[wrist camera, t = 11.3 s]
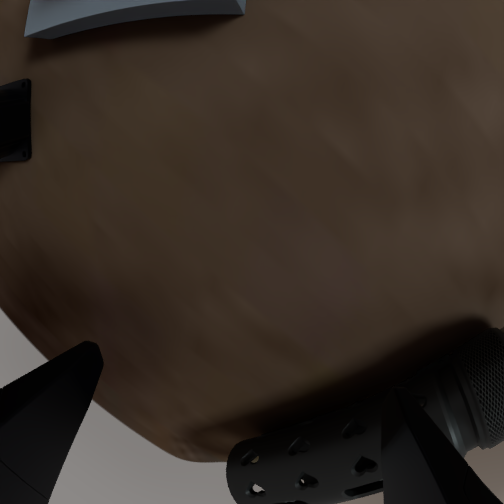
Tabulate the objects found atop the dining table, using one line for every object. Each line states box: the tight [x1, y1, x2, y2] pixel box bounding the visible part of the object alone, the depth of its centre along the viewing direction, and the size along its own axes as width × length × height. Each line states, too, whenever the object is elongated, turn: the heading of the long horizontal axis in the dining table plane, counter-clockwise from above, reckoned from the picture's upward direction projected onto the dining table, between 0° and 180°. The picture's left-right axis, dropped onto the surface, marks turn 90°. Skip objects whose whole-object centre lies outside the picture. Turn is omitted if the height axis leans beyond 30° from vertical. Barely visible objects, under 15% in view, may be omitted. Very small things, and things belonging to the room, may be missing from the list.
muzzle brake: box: [226, 327, 504, 504], centre depth 21 cm, size 10×28×10 cm, turn 129°
